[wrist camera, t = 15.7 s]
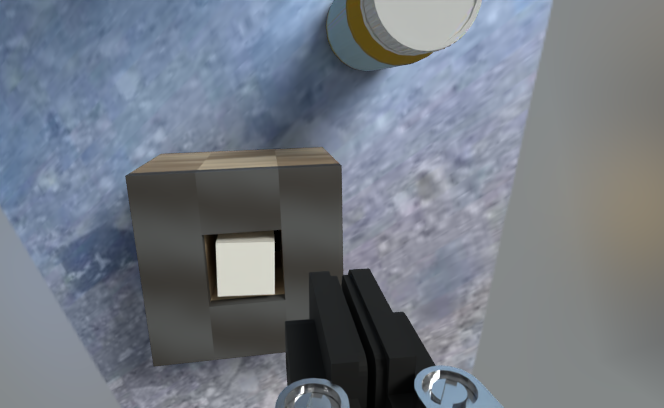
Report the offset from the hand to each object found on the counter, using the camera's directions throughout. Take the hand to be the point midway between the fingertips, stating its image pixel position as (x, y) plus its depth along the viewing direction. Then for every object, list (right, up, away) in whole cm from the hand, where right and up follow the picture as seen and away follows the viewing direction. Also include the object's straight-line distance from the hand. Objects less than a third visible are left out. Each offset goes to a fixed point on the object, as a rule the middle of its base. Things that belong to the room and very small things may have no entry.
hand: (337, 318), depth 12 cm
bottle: (+3, +18, +25) cm, 31 cm away
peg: (-8, +1, +28) cm, 29 cm away
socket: (-8, +1, +28) cm, 29 cm away
